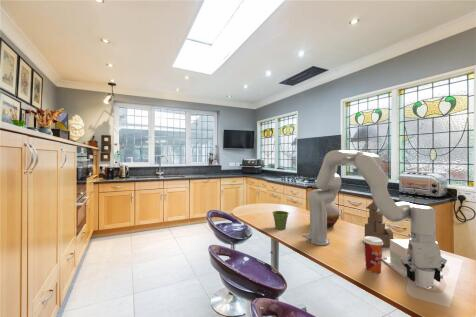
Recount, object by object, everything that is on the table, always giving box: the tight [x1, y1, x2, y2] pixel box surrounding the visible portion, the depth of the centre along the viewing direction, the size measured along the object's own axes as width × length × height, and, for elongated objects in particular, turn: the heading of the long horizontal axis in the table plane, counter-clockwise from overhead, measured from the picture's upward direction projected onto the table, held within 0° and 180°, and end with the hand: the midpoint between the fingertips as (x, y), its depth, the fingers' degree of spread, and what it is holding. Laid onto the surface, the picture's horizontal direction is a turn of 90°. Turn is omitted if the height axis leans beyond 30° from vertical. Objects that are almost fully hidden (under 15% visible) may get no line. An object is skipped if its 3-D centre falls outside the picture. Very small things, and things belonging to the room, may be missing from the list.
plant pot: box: [272, 210, 290, 231], centre depth 154 cm, size 12×12×11 cm
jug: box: [324, 201, 340, 228], centre depth 158 cm, size 20×18×30 cm
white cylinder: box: [413, 267, 435, 289], centre depth 85 cm, size 7×7×7 cm
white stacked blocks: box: [381, 238, 444, 278], centre depth 98 cm, size 16×16×11 cm
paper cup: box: [363, 236, 383, 274], centre depth 96 cm, size 8×8×14 cm
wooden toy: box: [364, 200, 394, 248], centre depth 127 cm, size 15×7×25 cm, turn 16°
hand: (423, 279), depth 85 cm, fingers open, 9 cm apart
